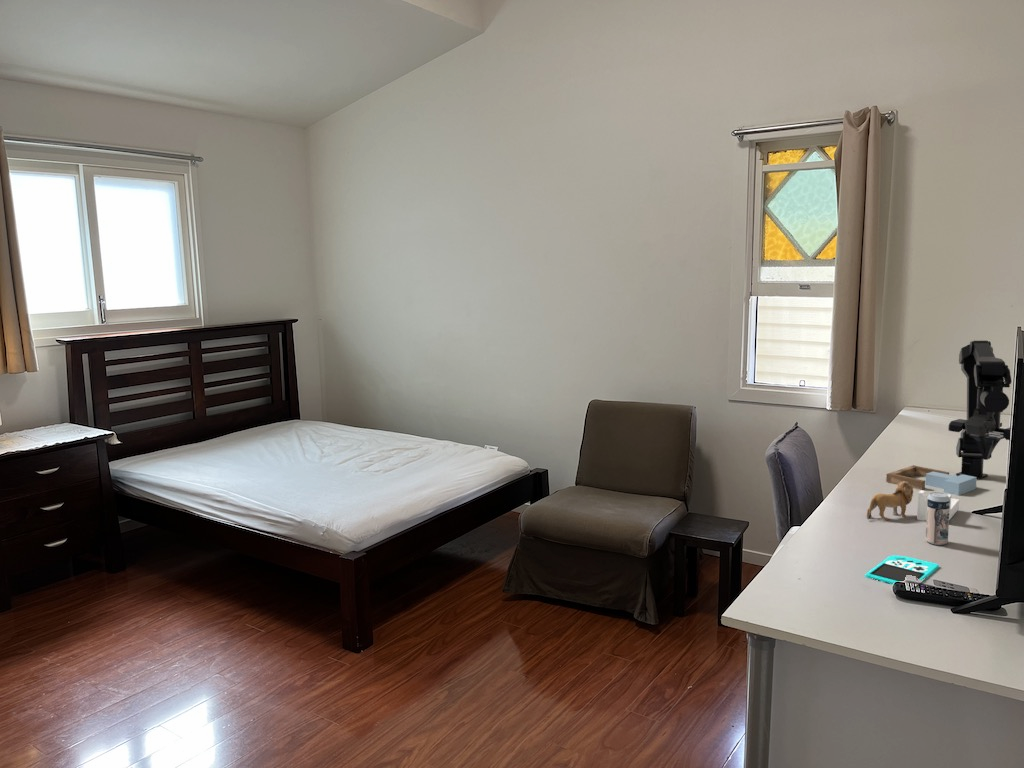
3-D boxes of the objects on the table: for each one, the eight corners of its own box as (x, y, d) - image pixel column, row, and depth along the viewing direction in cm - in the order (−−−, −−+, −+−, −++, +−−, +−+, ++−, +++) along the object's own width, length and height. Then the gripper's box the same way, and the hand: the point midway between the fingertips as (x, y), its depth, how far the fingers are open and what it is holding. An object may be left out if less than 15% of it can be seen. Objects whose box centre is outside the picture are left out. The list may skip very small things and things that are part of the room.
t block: (937, 480, 229) (938, 469, 229) (976, 488, 220) (976, 477, 219) (920, 487, 224) (920, 475, 223) (958, 495, 215) (958, 483, 214)
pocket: (913, 472, 238) (913, 465, 238) (948, 480, 229) (949, 472, 228) (886, 481, 230) (886, 474, 230) (922, 489, 221) (922, 481, 220)
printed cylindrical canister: (939, 547, 178) (942, 499, 176) (920, 541, 182) (922, 493, 180) (952, 543, 180) (954, 495, 178) (933, 537, 184) (935, 490, 182)
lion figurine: (901, 509, 205) (902, 478, 203) (918, 515, 200) (919, 483, 198) (860, 518, 200) (861, 485, 198) (876, 524, 195) (877, 491, 193)
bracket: (947, 525, 192) (949, 497, 191) (917, 520, 197) (918, 492, 196) (958, 512, 202) (960, 484, 201) (929, 507, 207) (930, 480, 205)
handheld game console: (940, 569, 167) (940, 563, 167) (913, 592, 156) (913, 586, 156) (892, 558, 174) (893, 552, 174) (864, 579, 164) (864, 573, 163)
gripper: (939, 404, 213) (937, 458, 215) (1011, 414, 197) (1008, 471, 200) (959, 399, 219) (957, 451, 221) (1031, 408, 203) (1027, 464, 206)
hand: (985, 459), depth 212 cm, fingers closed
